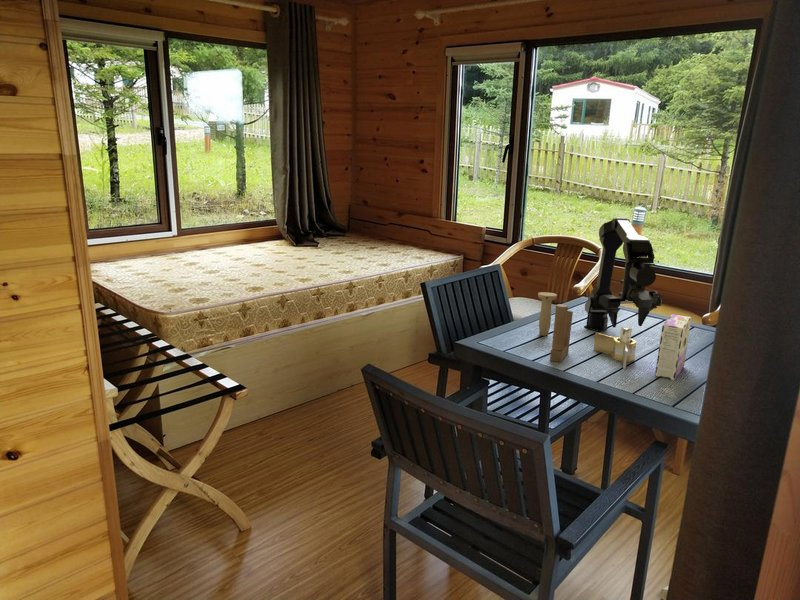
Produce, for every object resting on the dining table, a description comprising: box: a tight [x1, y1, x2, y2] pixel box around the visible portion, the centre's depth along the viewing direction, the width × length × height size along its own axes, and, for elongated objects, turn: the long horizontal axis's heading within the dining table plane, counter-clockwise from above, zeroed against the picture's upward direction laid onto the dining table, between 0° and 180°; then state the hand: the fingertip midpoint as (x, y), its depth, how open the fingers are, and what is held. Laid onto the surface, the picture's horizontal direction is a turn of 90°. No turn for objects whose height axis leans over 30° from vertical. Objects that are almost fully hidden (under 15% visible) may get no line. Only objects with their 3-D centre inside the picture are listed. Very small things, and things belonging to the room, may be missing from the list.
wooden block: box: [549, 303, 574, 363], centre depth 192 cm, size 4×11×18 cm, turn 153°
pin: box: [619, 326, 633, 343], centre depth 193 cm, size 3×3×10 cm
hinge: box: [593, 331, 637, 370], centre depth 193 cm, size 16×12×6 cm
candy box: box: [654, 313, 692, 381], centre depth 182 cm, size 14×6×16 cm, turn 145°
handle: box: [537, 291, 558, 337], centre depth 213 cm, size 5×6×15 cm
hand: (626, 326), depth 191 cm, fingers open, 9 cm apart
